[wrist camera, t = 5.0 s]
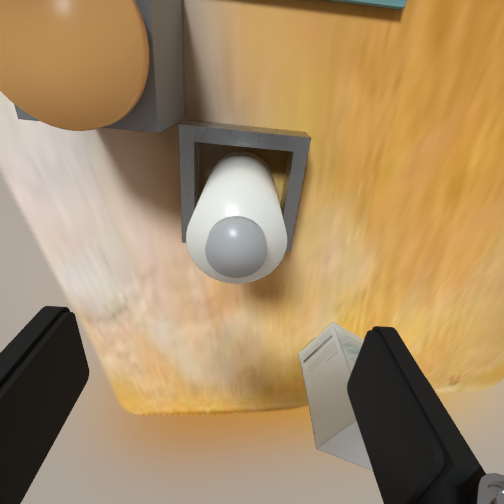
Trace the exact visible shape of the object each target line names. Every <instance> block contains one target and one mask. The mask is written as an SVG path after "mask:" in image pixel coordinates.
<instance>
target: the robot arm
mask: <svg viewBox="0 0 504 504" xmlns="http://www.w3.org/2000/svg"><path fill="white" fill-rule="evenodd" d="M88 377H89V368H88V364H87V360H86V356H85V352H84V348H83V344H82V340H81V337H80V333H79V329H78V325H77V321H76V317H75V314H74V313H73V312H70V310H69V309H68V308H67V307H56V306H54V307H53V306H45V307H43V308H42V309H41V310H40V311H39V312H38V313H37V314H36V316H34V318H33V319H32V320H31V321H30V322H29V323H28V324H27V325H26V326H25V327H24V329H22V330H21V332H20V333H19V334H18V335H17V336H16V337H15V338H14V339H13V340H12V341H11V342H10V343H9V344H8V345H7V346H6V348H5V349H4V350H3V351H2V352H1V353H0V504H20V503H21V501H22V499H23V498H24V496H25V494H26V493H27V491H28V489H29V487H30V485H31V483H32V482H33V479H34V478H35V476H36V474H37V472H38V470H39V469H40V467H41V465H42V463H43V461H44V459H45V458H46V456H47V454H48V452H49V450H50V449H51V447H52V445H53V443H54V441H55V439H56V438H57V436H58V434H59V432H60V430H61V428H62V427H63V425H64V423H65V421H66V419H67V417H68V416H69V414H70V412H71V410H72V408H73V407H74V405H75V403H76V401H77V399H78V397H79V395H80V394H81V392H82V390H83V388H84V386H85V385H86V383H87V380H88ZM347 393H348V396H349V399H350V402H351V405H352V408H353V412H354V415H355V418H356V421H357V424H358V427H359V430H360V433H361V436H362V439H363V442H364V445H365V448H366V451H367V454H368V457H369V460H370V463H371V466H372V469H373V472H374V475H375V478H376V481H377V484H378V487H379V490H380V493H381V496H382V499H383V502H384V504H504V475H500V474H497V473H492V474H486V473H485V472H484V470H483V468H482V467H481V465H480V464H479V462H478V460H477V459H476V457H475V456H474V454H473V453H472V451H471V449H470V448H469V446H468V444H467V443H466V441H465V440H464V438H463V436H462V435H461V434H460V431H459V430H458V428H457V427H456V425H455V424H454V422H453V420H452V419H451V417H450V415H449V414H448V413H447V411H446V409H445V407H444V406H443V404H442V403H441V401H440V399H439V398H438V396H437V394H436V393H435V391H434V390H433V388H432V386H431V385H430V383H429V382H428V380H427V378H426V377H425V376H424V374H423V373H422V371H421V370H420V368H419V366H418V365H417V363H416V362H415V360H414V358H413V357H412V355H411V353H410V352H409V350H408V349H407V347H406V345H405V344H404V342H403V341H402V339H401V337H400V336H399V334H398V332H397V331H396V330H395V328H393V327H379V326H375V327H373V329H372V330H369V331H368V332H367V334H366V336H365V339H364V341H363V344H362V347H361V349H360V352H359V354H358V357H357V360H356V362H355V365H354V367H353V370H352V372H351V375H350V378H349V380H348V383H347Z"/></svg>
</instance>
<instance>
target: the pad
mask: <svg viewBox="0 0 504 504" xmlns="http://www.w3.org/2000/svg"><path fill="white" fill-rule="evenodd" d="M329 1H337V2H345V3H352V4H360V5H368V6H376V7H384V8H392V9H402V8H405V5H406V1H407V0H329Z"/></svg>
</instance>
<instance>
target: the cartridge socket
mask: <svg viewBox="0 0 504 504" xmlns="http://www.w3.org/2000/svg"><path fill="white" fill-rule="evenodd" d="M310 141H311V137H310V136H309V135H307V134H306V133H305V132H298V131H288V130H278V129H268V128H259V127H249V126H239V125H229V124H219V123H209V122H200V121H190V120H185V121H183V122H182V123H180V124H179V155H180V190H181V225H182V242H183V243H186V232H187V228H188V225H189V222H190V220H191V217H192V215H193V213H194V210H195V208H196V206H197V203H198V201H199V149H200V143H210V144H221V145H231V146H241V147H251V148H262V149H272V150H282V151H289V152H288V158H287V165H286V171H285V178H284V184H283V191H282V198H281V204H280V208H281V212H282V216H283V220H284V224H285V228H286V233H287V247H286V251H290V249H291V243H292V238H293V232H294V227H295V222H296V216H297V211H298V205H299V200H300V195H301V189H302V184H303V178H304V173H305V168H306V162H307V157H308V151H309V146H310Z"/></svg>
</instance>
